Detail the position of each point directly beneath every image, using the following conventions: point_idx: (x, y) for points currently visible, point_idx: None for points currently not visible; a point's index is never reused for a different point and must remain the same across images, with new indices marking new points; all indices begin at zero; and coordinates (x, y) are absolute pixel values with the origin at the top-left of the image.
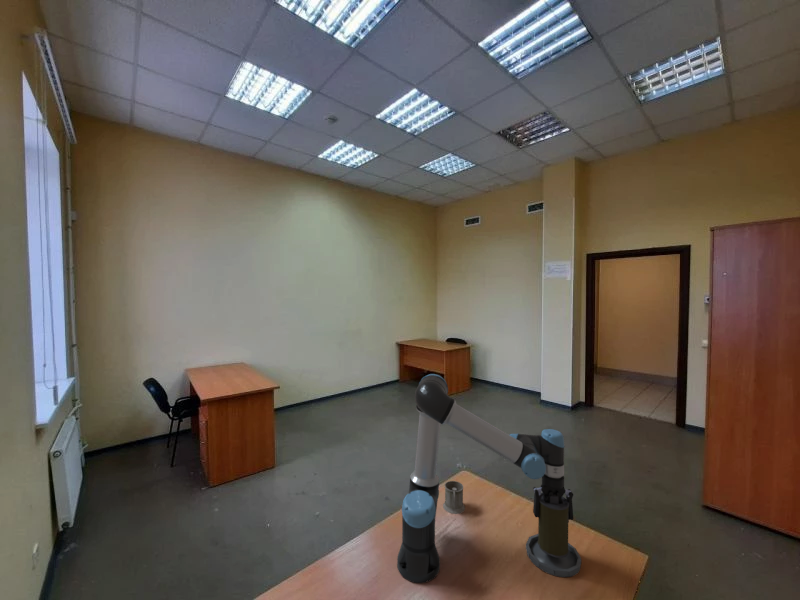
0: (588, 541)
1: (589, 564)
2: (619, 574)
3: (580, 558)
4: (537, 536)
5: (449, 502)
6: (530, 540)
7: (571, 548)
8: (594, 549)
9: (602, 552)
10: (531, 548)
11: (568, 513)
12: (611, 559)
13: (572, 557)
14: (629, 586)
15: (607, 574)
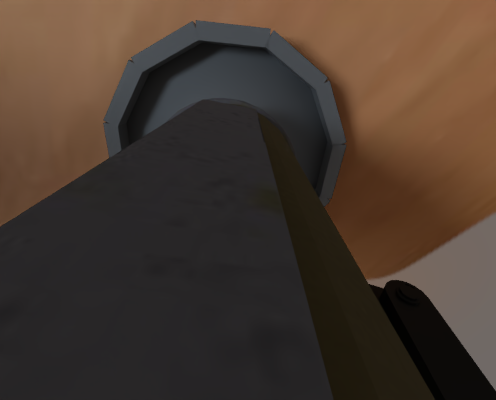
0: (471, 39)
1: (356, 187)
2: (428, 224)
3: (327, 200)
4: (180, 51)
5: None
6: (131, 91)
7: (328, 136)
8: (449, 102)
9: (469, 121)
10: (140, 120)
11: (398, 318)
12: (468, 160)
13: (307, 167)
14: (415, 261)
15: (386, 225)
